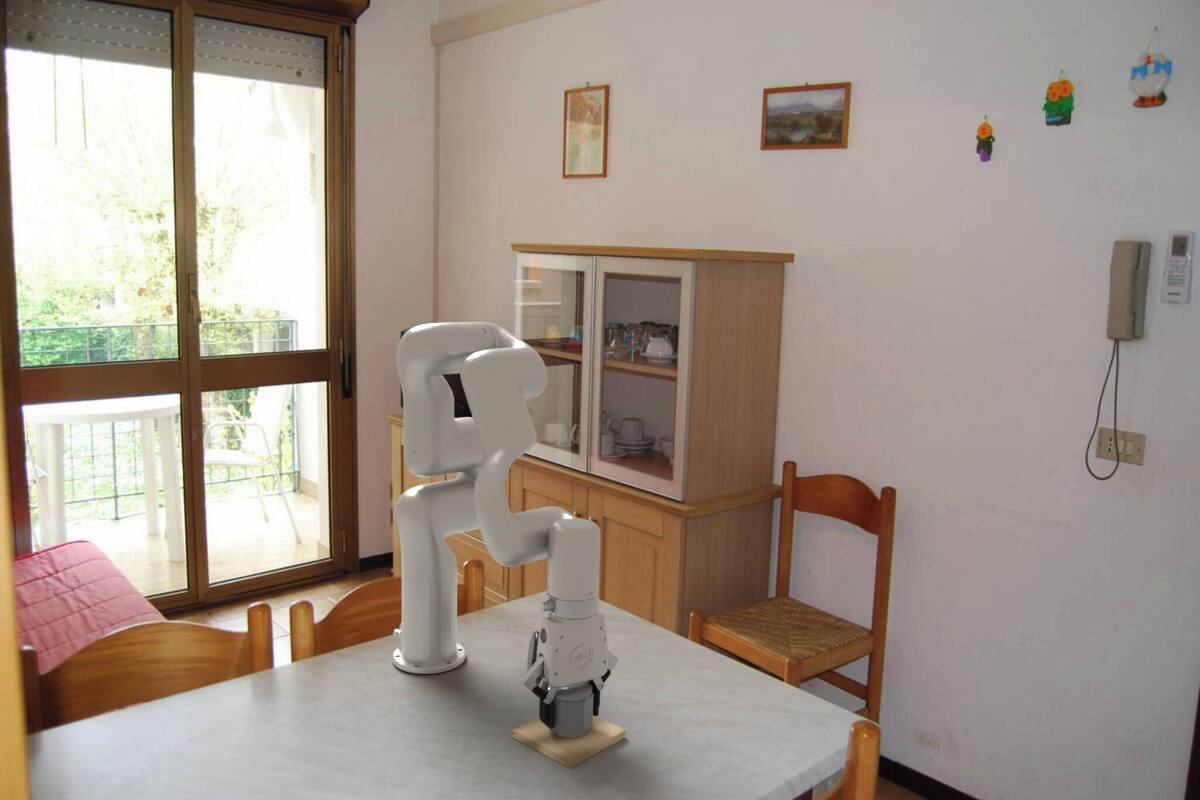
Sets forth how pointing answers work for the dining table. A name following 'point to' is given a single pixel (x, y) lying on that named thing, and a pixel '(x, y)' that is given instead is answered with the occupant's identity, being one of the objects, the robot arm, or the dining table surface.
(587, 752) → the plate with round knob
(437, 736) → the dining table surface
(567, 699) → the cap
